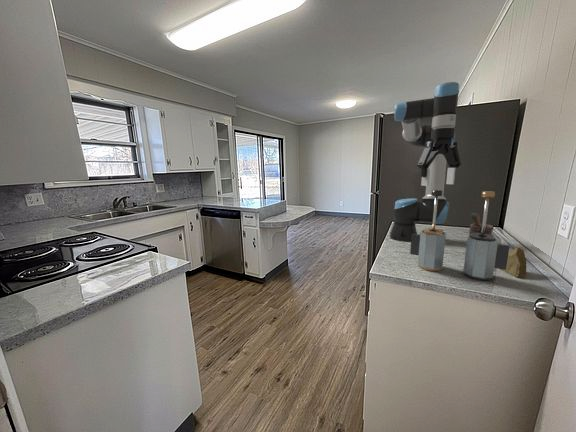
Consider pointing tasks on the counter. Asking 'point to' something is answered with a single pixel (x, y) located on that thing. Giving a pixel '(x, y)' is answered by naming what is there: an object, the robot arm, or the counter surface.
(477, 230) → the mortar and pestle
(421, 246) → the grey faceted cylinder
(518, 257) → the rock
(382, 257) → the counter surface
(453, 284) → the counter surface
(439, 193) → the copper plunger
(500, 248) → the gray faceted mug
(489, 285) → the counter surface
